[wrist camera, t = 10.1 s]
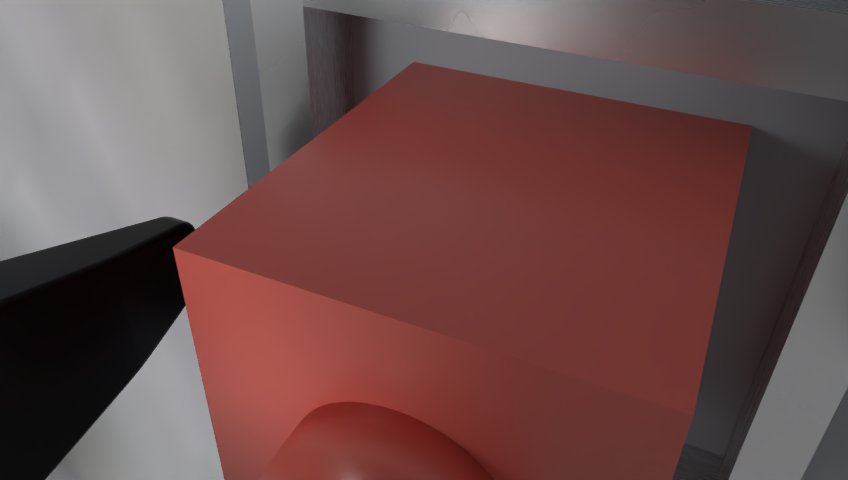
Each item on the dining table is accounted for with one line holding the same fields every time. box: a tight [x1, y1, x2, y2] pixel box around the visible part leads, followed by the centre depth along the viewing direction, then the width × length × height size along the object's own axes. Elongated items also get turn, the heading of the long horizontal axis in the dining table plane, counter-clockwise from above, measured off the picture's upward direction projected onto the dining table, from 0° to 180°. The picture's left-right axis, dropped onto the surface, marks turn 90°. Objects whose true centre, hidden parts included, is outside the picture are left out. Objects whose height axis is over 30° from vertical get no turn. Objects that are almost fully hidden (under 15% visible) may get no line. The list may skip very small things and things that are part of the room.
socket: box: [250, 0, 848, 480], centre depth 10 cm, size 8×8×1 cm
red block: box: [173, 62, 752, 480], centre depth 9 cm, size 4×4×6 cm
